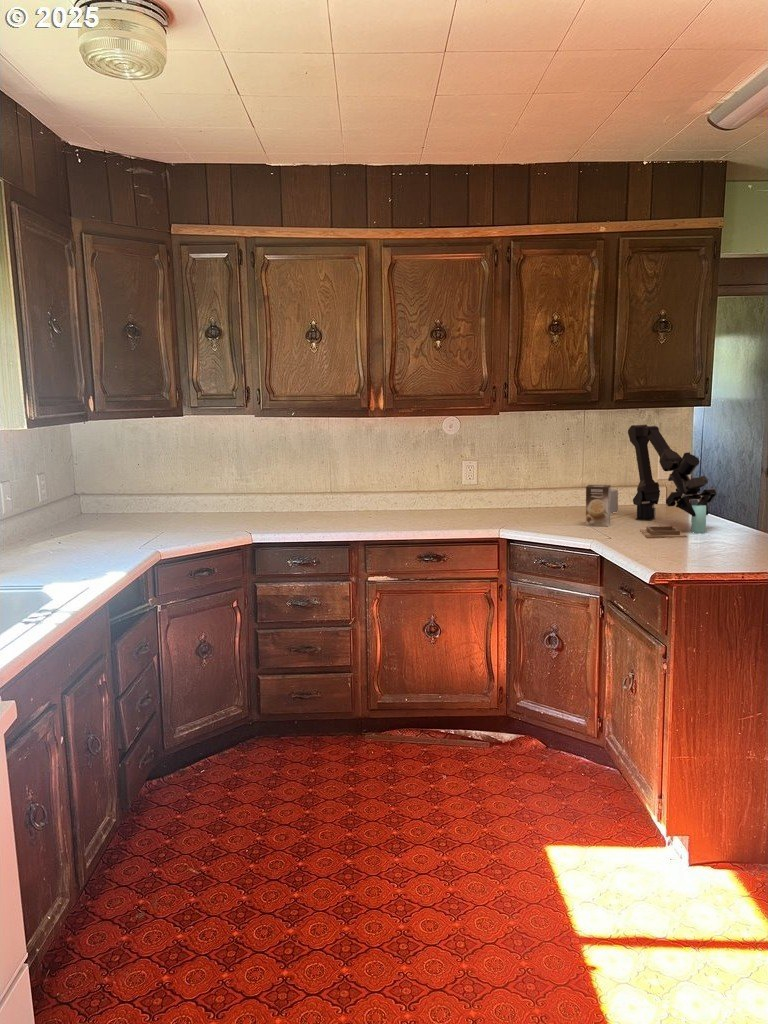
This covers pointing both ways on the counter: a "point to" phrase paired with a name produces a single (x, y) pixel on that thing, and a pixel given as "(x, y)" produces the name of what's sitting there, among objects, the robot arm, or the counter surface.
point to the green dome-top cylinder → (699, 519)
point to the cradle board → (662, 532)
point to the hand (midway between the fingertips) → (701, 515)
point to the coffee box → (598, 505)
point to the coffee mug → (614, 500)
